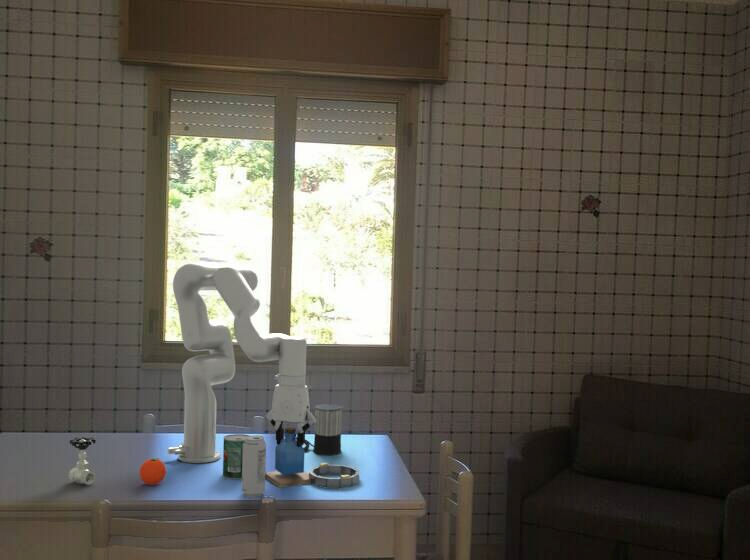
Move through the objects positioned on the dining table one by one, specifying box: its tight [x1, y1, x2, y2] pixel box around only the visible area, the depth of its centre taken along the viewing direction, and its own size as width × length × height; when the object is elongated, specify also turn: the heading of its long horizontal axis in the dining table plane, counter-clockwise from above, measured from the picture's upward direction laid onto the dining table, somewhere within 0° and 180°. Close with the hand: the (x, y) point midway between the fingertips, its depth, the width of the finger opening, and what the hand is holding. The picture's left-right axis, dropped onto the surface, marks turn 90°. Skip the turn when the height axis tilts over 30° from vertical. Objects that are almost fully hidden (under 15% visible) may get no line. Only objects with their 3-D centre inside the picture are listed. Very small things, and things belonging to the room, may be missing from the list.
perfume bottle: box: [274, 426, 305, 475], centre depth 210 cm, size 6×6×12 cm
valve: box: [68, 436, 97, 486], centre depth 201 cm, size 7×7×12 cm
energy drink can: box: [241, 435, 267, 498], centre depth 196 cm, size 6×6×15 cm
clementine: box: [139, 457, 167, 486], centre depth 203 cm, size 8×7×7 cm
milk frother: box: [295, 403, 344, 456], centre depth 242 cm, size 14×16×15 cm
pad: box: [265, 470, 312, 488], centre depth 211 cm, size 11×11×1 cm
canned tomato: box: [222, 433, 250, 480], centre depth 213 cm, size 8×8×11 cm
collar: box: [308, 462, 360, 489], centre depth 211 cm, size 14×14×3 cm
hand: (290, 444), depth 210 cm, fingers closed on perfume bottle, 5 cm apart
